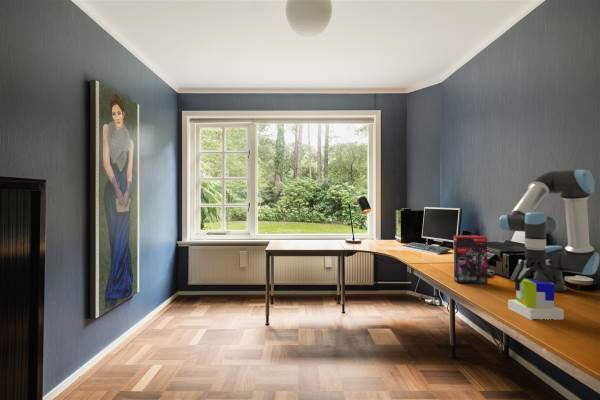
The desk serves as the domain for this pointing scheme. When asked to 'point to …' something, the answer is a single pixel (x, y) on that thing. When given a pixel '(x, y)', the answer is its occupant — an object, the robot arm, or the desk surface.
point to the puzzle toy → (537, 293)
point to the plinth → (536, 311)
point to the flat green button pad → (490, 272)
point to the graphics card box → (470, 259)
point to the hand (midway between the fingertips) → (534, 298)
